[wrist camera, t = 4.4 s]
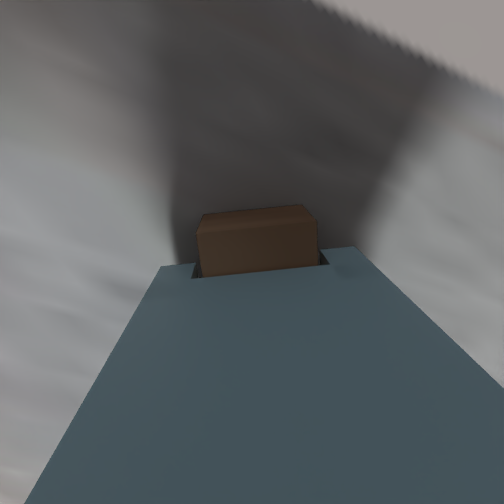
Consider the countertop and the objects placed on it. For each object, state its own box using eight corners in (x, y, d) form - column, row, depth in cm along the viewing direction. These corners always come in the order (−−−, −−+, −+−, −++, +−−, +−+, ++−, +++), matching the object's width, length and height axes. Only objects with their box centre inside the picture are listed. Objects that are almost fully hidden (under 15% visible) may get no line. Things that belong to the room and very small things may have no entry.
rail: (346, 501, 15) (383, 627, 11) (216, 515, 15) (208, 647, 11) (350, 199, 10) (421, 240, 6) (154, 219, 10) (102, 273, 6)
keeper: (351, 382, 11) (530, 769, 4) (189, 400, 11) (114, 818, 4) (354, 246, 9) (664, 540, 3) (160, 266, 9) (-43, 620, 2)
